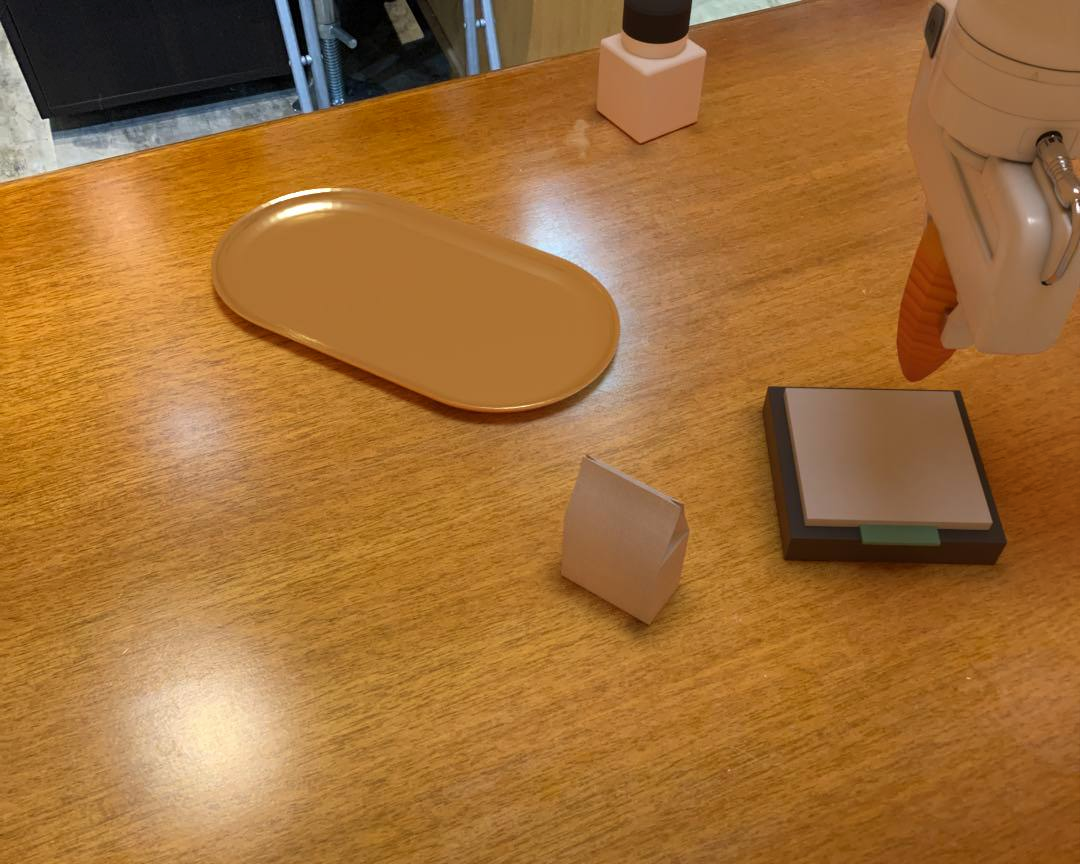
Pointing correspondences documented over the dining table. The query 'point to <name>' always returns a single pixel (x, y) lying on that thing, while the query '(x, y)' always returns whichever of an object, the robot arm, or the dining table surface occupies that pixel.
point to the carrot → (925, 309)
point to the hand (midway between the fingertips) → (941, 304)
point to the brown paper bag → (623, 540)
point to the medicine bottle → (651, 70)
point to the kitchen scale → (879, 476)
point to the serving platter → (418, 298)
